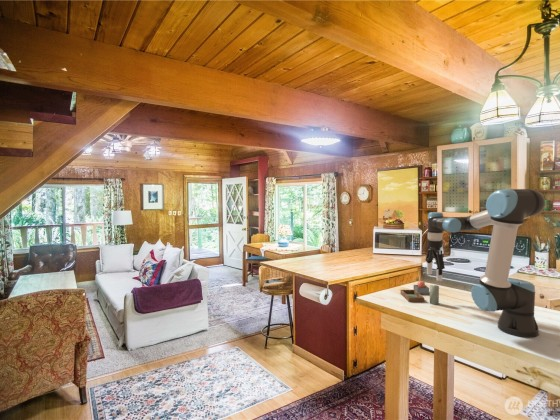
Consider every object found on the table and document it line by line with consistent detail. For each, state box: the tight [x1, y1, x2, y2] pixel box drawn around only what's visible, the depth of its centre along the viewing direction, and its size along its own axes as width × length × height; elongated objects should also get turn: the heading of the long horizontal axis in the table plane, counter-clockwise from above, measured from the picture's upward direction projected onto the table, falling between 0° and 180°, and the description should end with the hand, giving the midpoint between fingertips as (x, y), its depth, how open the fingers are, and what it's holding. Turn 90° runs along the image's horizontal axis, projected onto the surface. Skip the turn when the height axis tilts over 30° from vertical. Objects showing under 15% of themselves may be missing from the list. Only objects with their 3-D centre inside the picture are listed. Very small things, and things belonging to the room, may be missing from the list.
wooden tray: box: [400, 289, 425, 303], centre depth 197 cm, size 16×9×2 cm, turn 177°
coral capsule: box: [417, 280, 426, 288], centre depth 206 cm, size 4×4×6 cm
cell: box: [429, 284, 440, 306], centre depth 186 cm, size 5×5×11 cm
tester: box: [413, 284, 430, 295], centre depth 206 cm, size 7×7×4 cm
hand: (434, 277), depth 186 cm, fingers open, 13 cm apart
